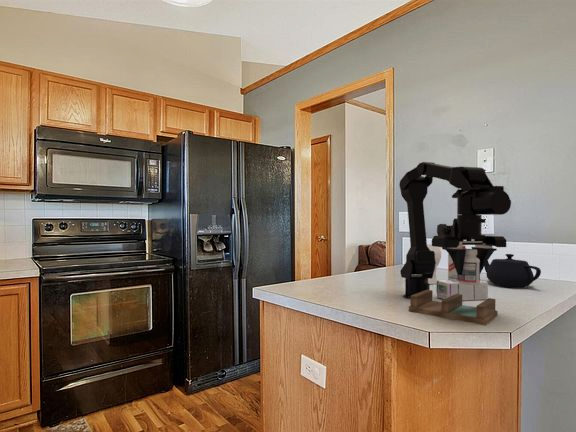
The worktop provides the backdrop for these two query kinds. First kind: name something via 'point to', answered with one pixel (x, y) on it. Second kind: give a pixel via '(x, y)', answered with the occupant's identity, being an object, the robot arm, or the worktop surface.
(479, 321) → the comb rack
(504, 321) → the worktop surface
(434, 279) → the cup
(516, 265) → the teapot
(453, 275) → the beer can
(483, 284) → the syrup box
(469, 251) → the pill bottle
